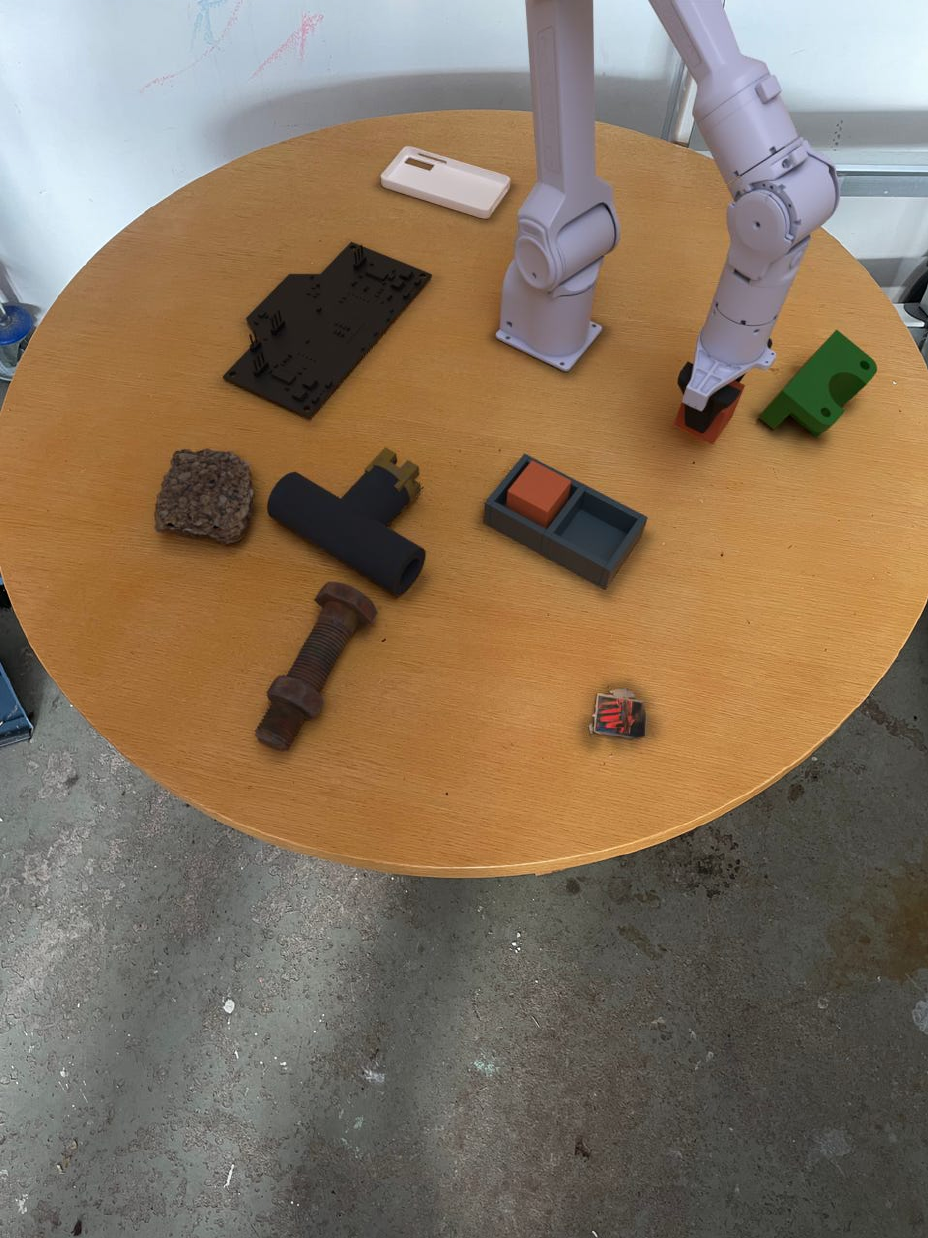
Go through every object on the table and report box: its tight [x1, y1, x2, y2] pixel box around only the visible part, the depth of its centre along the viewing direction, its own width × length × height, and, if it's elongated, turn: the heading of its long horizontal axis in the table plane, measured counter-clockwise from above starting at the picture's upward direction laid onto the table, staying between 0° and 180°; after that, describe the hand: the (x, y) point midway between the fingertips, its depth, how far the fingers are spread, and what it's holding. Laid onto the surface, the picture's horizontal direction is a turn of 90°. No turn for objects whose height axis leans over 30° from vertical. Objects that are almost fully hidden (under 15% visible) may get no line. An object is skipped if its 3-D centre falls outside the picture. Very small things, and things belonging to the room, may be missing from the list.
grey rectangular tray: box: [483, 453, 649, 591], centre depth 83 cm, size 14×7×3 cm, turn 56°
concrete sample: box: [153, 448, 255, 547], centre depth 83 cm, size 12×10×5 cm
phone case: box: [380, 145, 511, 220], centre depth 109 cm, size 7×1×15 cm
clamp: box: [757, 328, 878, 438], centre depth 90 cm, size 12×6×9 cm, turn 134°
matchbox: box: [588, 688, 648, 739], centre depth 75 cm, size 5×5×1 cm
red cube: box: [673, 380, 746, 445], centre depth 85 cm, size 4×4×4 cm
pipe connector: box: [266, 446, 427, 597], centre depth 83 cm, size 12×5×15 cm
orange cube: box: [506, 461, 571, 530], centre depth 83 cm, size 4×4×4 cm
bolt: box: [254, 581, 378, 752], centre depth 75 cm, size 6×5×15 cm
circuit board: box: [222, 241, 433, 420], centre depth 97 cm, size 25×14×3 cm, turn 150°
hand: (706, 411), depth 86 cm, fingers closed on red cube, 4 cm apart
